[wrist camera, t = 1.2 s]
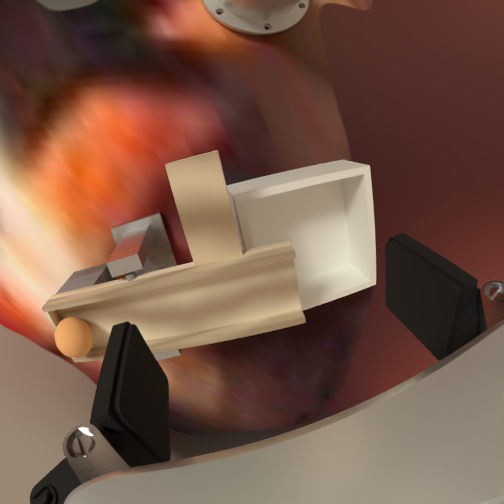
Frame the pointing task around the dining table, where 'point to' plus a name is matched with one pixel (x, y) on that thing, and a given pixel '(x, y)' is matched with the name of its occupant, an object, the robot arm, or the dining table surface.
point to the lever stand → (142, 253)
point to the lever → (190, 278)
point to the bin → (314, 225)
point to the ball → (73, 337)
